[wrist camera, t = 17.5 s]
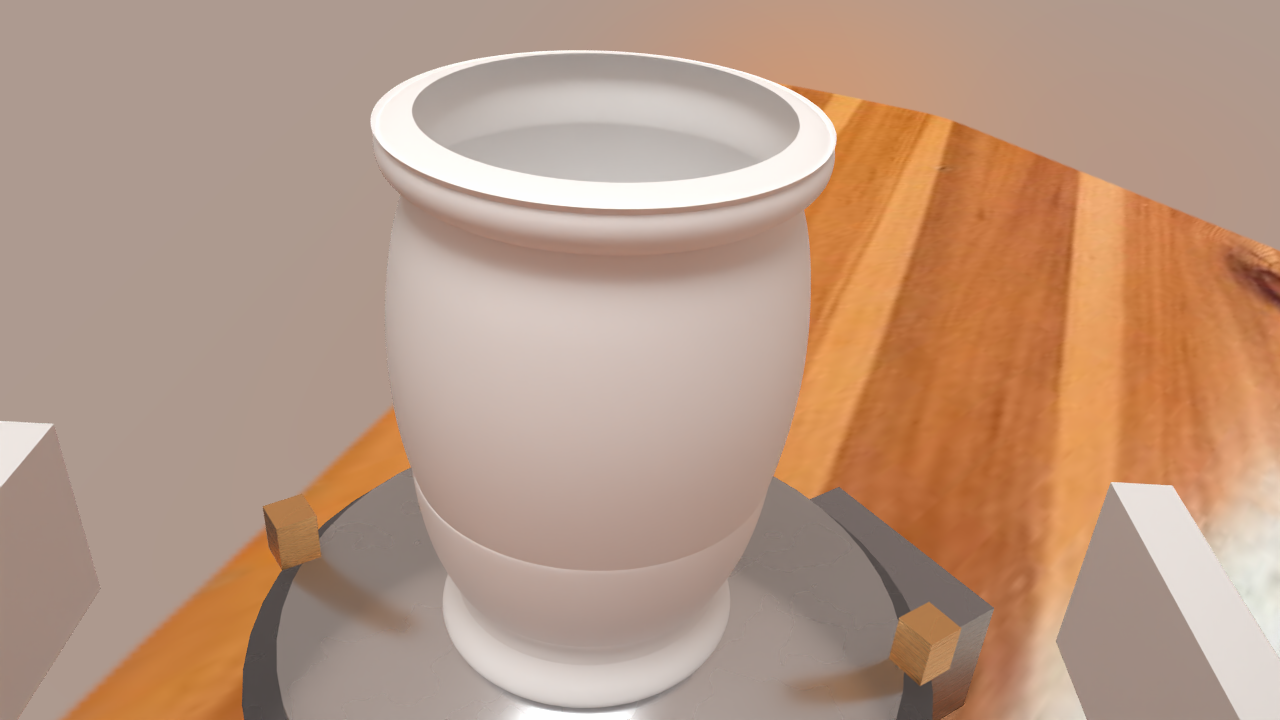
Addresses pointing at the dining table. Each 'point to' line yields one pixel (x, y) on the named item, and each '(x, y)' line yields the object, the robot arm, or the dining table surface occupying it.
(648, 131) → the jar
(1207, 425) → the dining table surface
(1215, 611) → the robot arm
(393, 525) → the cylinder
